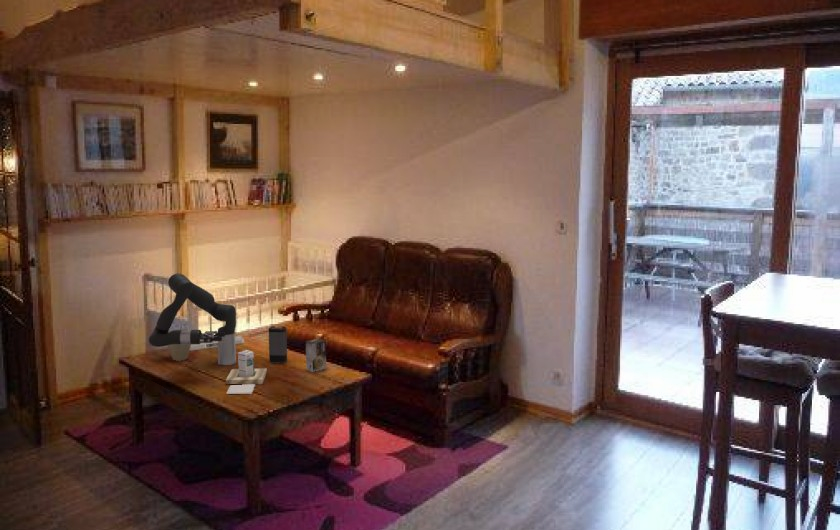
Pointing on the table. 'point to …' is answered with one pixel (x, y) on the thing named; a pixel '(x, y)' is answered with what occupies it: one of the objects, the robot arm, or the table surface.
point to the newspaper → (214, 344)
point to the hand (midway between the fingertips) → (223, 336)
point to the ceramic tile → (241, 389)
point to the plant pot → (179, 349)
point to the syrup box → (246, 363)
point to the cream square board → (235, 379)
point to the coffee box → (315, 355)
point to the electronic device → (277, 345)
